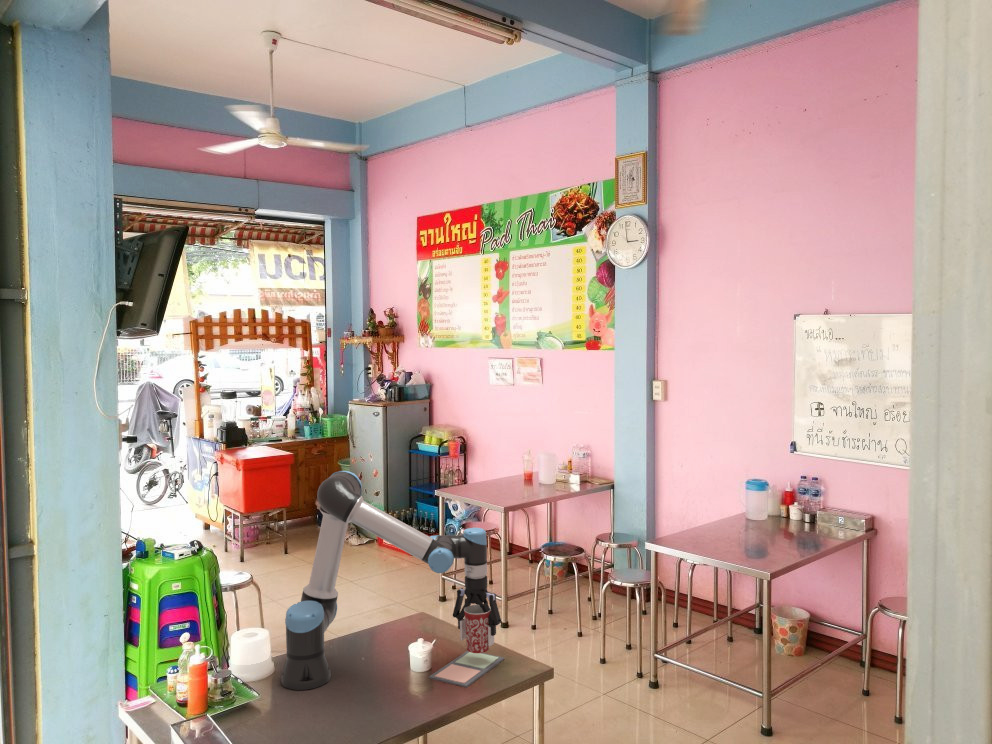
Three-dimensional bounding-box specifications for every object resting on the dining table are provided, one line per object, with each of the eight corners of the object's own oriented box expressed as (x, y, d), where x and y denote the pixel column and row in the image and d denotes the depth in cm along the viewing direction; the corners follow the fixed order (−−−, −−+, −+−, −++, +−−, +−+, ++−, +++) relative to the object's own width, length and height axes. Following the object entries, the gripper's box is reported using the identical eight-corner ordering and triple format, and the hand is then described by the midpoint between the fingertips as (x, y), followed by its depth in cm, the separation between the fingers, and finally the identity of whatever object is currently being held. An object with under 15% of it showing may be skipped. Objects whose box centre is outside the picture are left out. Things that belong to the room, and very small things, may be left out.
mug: (496, 652, 251) (495, 611, 251) (469, 656, 248) (469, 615, 248) (482, 638, 263) (481, 599, 263) (457, 642, 260) (456, 603, 259)
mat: (429, 678, 243) (429, 676, 243) (468, 651, 264) (468, 649, 264) (466, 687, 237) (466, 685, 237) (504, 659, 257) (504, 657, 257)
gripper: (441, 574, 257) (442, 639, 258) (500, 583, 246) (501, 652, 247) (453, 568, 263) (454, 632, 264) (511, 577, 252) (512, 643, 253)
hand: (477, 641), depth 255 cm, fingers closed on mug, 10 cm apart
